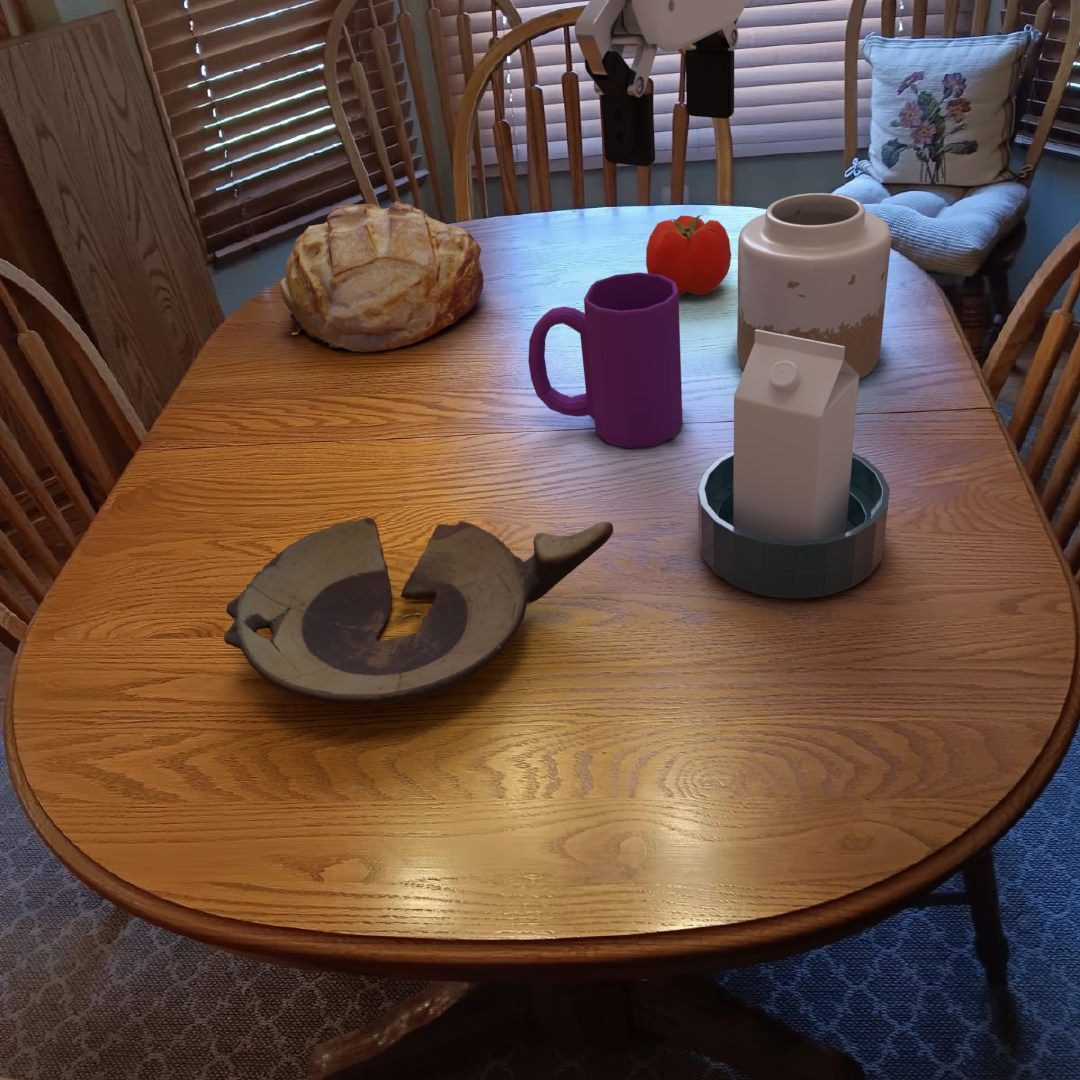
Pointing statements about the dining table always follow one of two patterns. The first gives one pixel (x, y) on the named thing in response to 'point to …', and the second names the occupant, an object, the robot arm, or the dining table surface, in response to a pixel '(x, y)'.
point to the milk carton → (793, 439)
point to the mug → (621, 359)
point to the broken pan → (365, 603)
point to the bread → (380, 277)
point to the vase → (815, 276)
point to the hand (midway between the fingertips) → (672, 138)
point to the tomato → (689, 253)
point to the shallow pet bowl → (793, 562)
